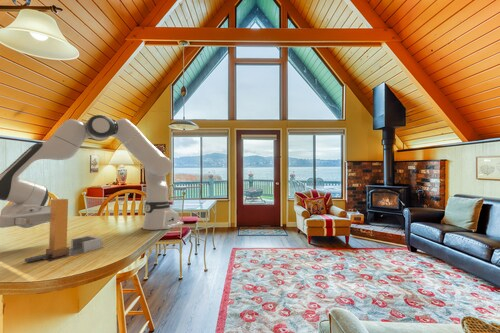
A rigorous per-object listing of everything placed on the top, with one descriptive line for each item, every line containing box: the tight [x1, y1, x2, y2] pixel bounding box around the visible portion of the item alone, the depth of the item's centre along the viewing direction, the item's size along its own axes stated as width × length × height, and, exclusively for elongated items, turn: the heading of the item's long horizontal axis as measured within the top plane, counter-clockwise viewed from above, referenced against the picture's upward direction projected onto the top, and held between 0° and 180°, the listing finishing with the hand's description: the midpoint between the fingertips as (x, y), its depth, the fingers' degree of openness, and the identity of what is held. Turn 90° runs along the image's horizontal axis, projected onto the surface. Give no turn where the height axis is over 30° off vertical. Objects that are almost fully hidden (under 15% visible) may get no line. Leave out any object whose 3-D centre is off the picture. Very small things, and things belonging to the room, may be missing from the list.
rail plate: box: [42, 246, 104, 262], centre depth 86 cm, size 17×9×1 cm, turn 151°
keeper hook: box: [70, 235, 103, 253], centre depth 91 cm, size 6×9×4 cm
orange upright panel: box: [24, 198, 70, 263], centre depth 80 cm, size 11×5×19 cm, turn 152°
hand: (43, 219), depth 88 cm, fingers open, 8 cm apart
